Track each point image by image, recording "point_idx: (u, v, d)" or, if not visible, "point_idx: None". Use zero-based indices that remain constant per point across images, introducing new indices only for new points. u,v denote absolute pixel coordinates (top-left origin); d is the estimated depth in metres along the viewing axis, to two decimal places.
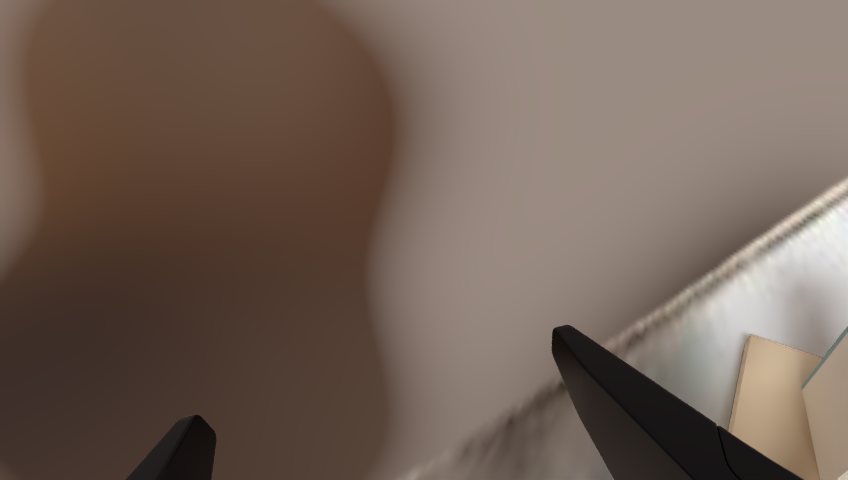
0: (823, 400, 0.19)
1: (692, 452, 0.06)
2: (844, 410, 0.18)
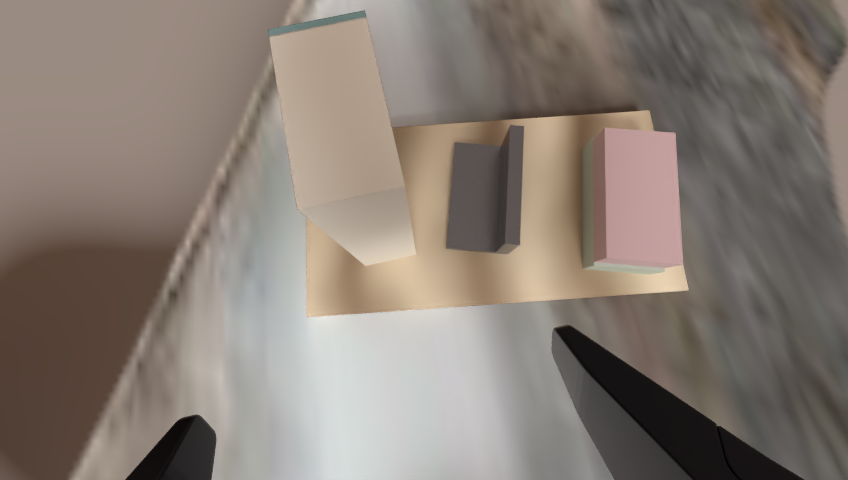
0: None
1: (692, 452, 0.06)
2: None
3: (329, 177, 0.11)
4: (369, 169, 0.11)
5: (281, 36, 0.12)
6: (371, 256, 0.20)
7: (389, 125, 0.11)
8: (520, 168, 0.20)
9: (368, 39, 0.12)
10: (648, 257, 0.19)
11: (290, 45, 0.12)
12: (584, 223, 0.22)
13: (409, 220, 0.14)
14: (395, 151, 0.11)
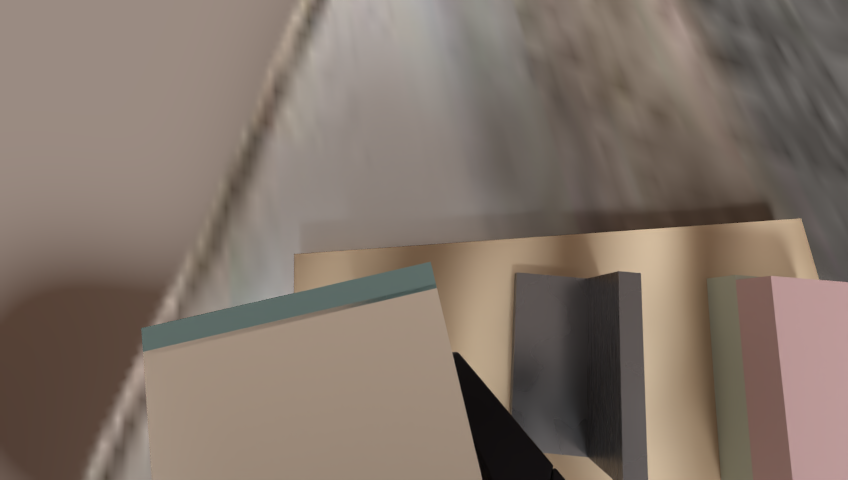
0: None
1: None
2: None
3: None
4: None
5: (180, 354, 0.04)
6: None
7: None
8: (639, 348, 0.12)
9: (445, 362, 0.04)
10: None
11: (206, 387, 0.04)
12: (720, 406, 0.15)
13: None
14: None
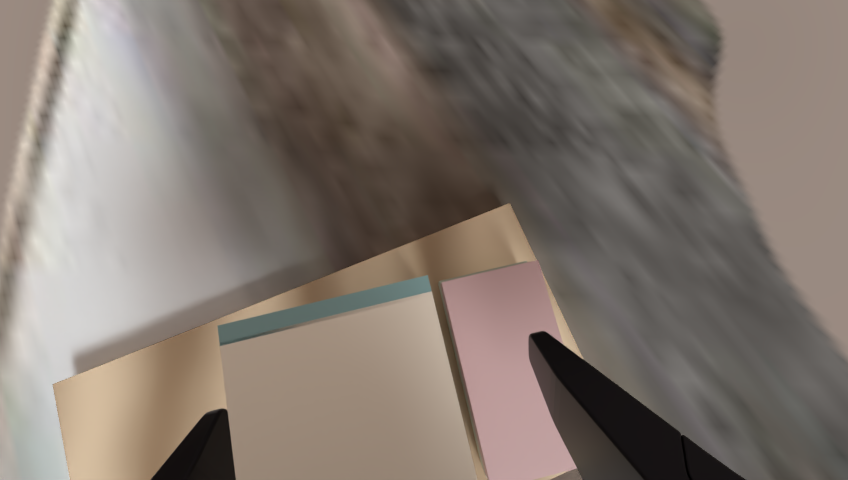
0: None
1: (655, 461, 0.06)
2: None
3: None
4: None
5: (246, 344, 0.05)
6: None
7: None
8: None
9: (439, 348, 0.05)
10: (549, 468, 0.13)
11: (266, 367, 0.05)
12: (465, 397, 0.16)
13: None
14: None
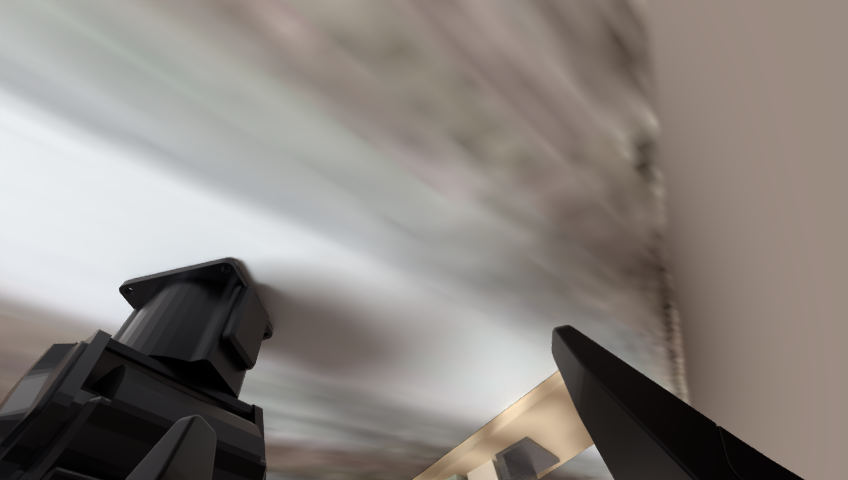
0: None
1: (692, 452, 0.06)
2: None
3: None
4: None
5: None
6: None
7: None
8: None
9: None
10: None
11: None
12: None
13: None
14: None
